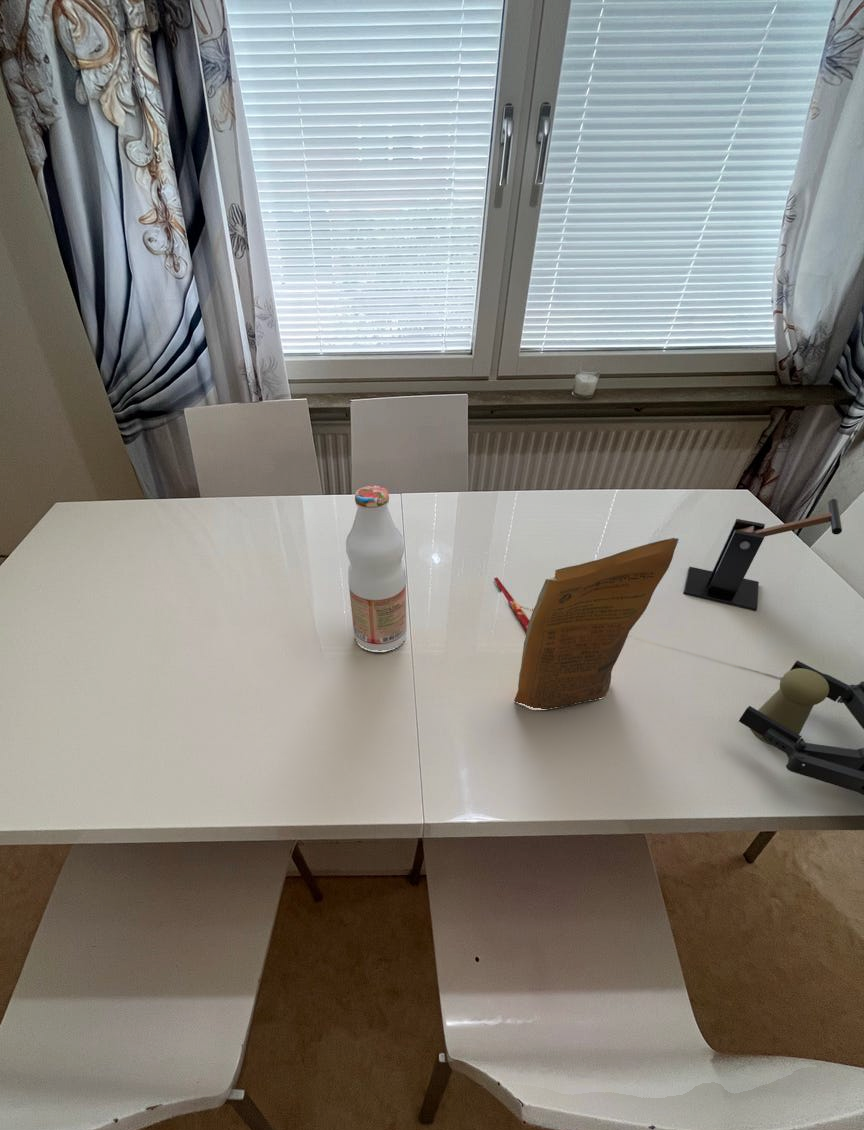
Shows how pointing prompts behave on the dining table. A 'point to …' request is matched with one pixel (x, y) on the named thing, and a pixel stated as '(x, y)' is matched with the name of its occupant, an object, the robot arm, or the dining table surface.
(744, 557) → the black lever stand
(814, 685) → the cork
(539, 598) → the pancake mix bag
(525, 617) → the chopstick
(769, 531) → the wood and metal hammer
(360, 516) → the fruit juice
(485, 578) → the dining table surface
